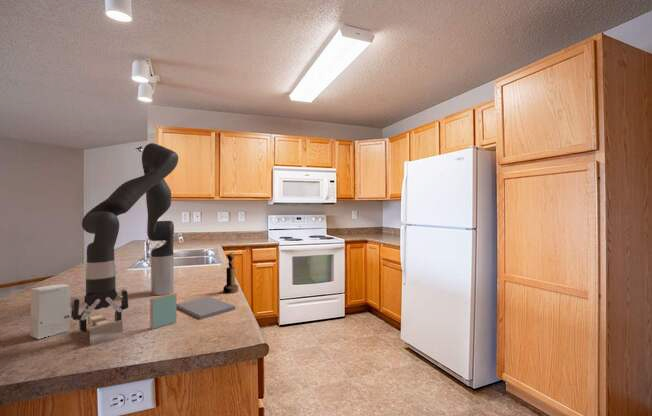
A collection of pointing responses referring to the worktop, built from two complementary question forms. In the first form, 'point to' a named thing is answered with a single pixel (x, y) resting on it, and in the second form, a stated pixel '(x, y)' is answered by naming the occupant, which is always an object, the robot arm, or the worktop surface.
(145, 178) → the robot arm
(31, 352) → the worktop surface
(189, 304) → the board
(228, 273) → the dark brown tall piece
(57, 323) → the skincare box
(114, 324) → the beige rectangular block
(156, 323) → the tile
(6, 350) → the worktop surface
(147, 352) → the worktop surface
